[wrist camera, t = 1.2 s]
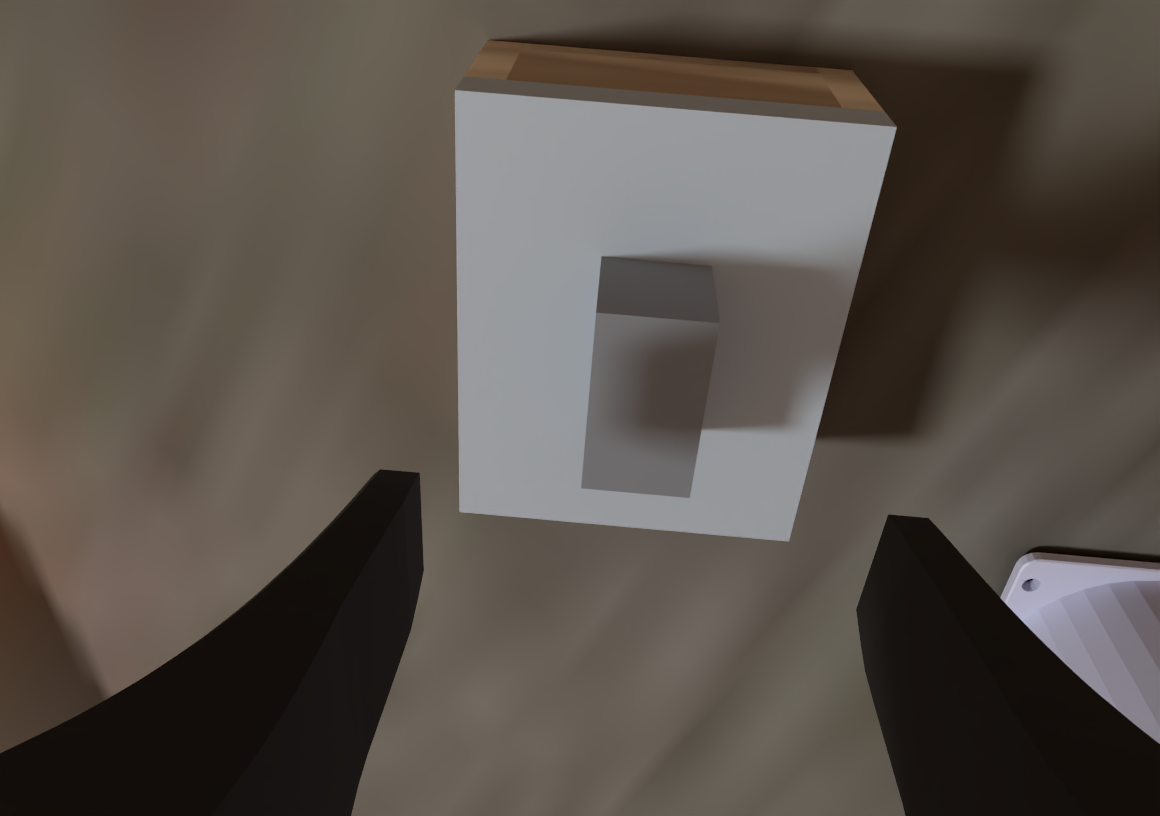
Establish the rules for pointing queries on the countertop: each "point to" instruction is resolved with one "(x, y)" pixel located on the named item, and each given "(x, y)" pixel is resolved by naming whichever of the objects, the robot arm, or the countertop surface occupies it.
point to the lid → (652, 299)
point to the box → (672, 75)
